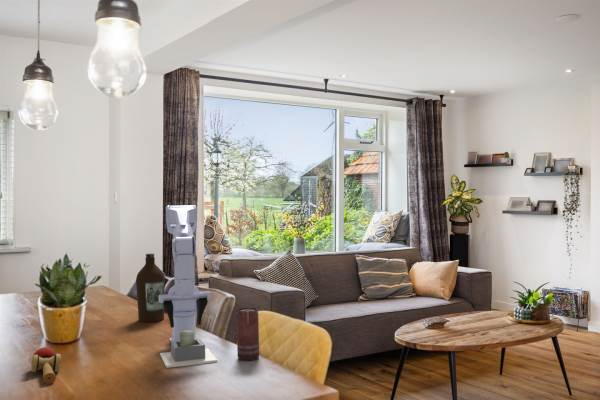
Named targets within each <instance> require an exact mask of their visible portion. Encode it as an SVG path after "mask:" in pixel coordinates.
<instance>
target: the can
mask: <svg viewBox="0 0 600 400" xmlns="http://www.w3.org/2000/svg"><path fill="white" fill-rule="evenodd" d="M259 326H260V324H259V311H258V309H257V308H255V307H243V308H239V309H238V310H237V312H236V332H237V333H236V336H237V337H236V342H237V343H236V345H237V347H236V348H237V349H236V350H237V359H238V360H240V361H243V362H251V361H256V360H259V357H260V337H259V335H260V329H259V328H260V327H259Z"/></svg>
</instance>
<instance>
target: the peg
mask: <svg viewBox="0 0 600 400" xmlns="http://www.w3.org/2000/svg"><path fill="white" fill-rule="evenodd" d="M191 345H194V331H192V330H186V331H181V332H180V347H181V346H191Z"/></svg>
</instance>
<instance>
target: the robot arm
mask: <svg viewBox="0 0 600 400" xmlns="http://www.w3.org/2000/svg"><path fill="white" fill-rule="evenodd" d="M197 211H198V209H197V206H196V204H193V205H192V204H191V205H189V204H188V205H186V204H185V205H184V204H183V205H182V204H181V205H169V204H168V205H167V206H166V207H165V217H166V218H165V222H166V230H167V233H169V234H171V235H172V236H173V238H172V240H171V241H172V244H171V246H172V248H171V249H172V250H171V251H172V257H173V264H174V266H173V268H174V269H173V271H174V274H173V275H174V284H173V286H171V287H170V288H169V289H168V292H167V293H166V294H165V293H164V295H159V302H160V303H163V305H164V310H165V311H166V314H167V317H168V321H169V324H170V326H169V327H170V328H171V329H172V337H170V338H169V342H171V341H180V332H181V331H186V330H192V331H194V339H197V335H196V334H197V333H196V332H197V331H196V328H197V327H196V325H197V326H201V324H202V319H203V315H204V313H205V309H206V307H207V305H208V303H209V300H211V297H212V295H211V293H212V291H199V289H198V286H196V278H195V276H196V274H195V273H196V272H195V271H196V270H195V256H196V251H197V242H196V237H195V235H194V232H196V229H197V222H198V212H197Z"/></svg>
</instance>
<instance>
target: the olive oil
mask: <svg viewBox="0 0 600 400" xmlns="http://www.w3.org/2000/svg"><path fill="white" fill-rule="evenodd" d="M144 259H145V264H144V266H143V267H141V268H140V270H139V271H138V272H137V275H136V278H135V286H136V297H137V298H136V300H137V315H138V316H137V317H138V321H139V322H141V323H153V322H154V323H155V322H160V321H163V320H164V319H165V307H164V305H163V303H160V302H159V295H165V288H166V286H165V283H166V277H165V273H164V272H163V270H161V269H160V268H159V267H158V265H156V262H155V259H156V257H155V253H145V258H144Z"/></svg>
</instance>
